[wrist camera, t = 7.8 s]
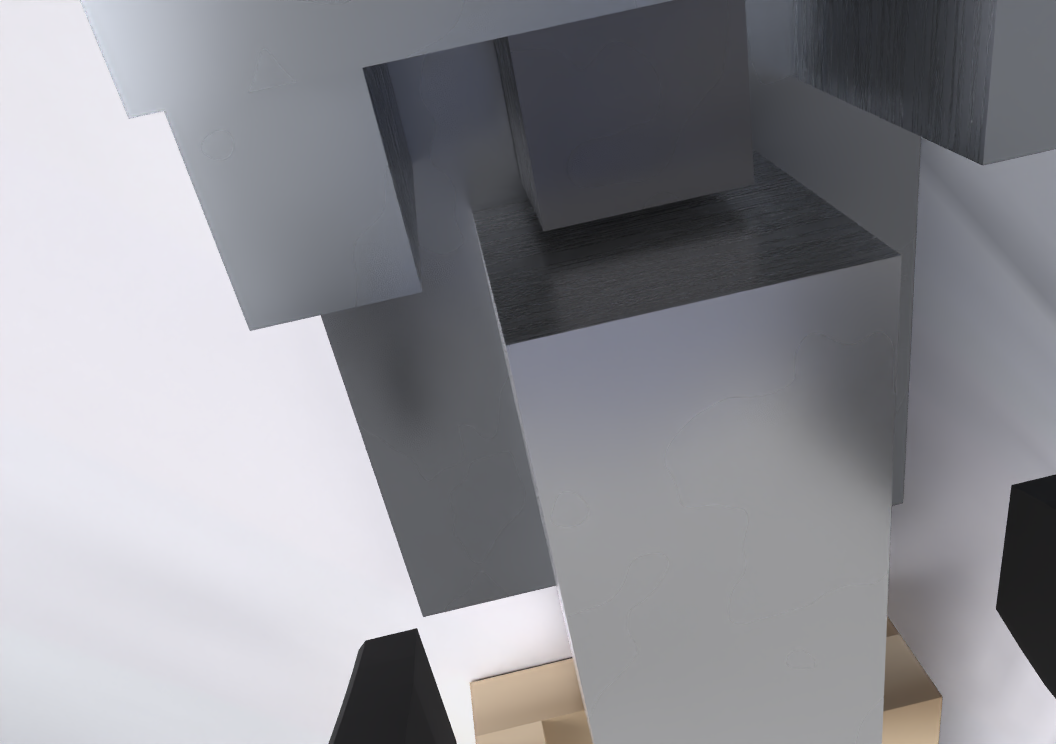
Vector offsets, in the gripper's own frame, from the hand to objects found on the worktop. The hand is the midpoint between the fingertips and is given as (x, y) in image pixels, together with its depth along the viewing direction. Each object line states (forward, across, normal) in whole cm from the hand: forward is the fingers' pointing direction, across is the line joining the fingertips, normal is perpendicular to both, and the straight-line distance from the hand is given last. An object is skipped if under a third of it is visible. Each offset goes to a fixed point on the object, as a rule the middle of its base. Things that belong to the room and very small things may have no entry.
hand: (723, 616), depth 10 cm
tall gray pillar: (+4, 0, 0) cm, 4 cm away
